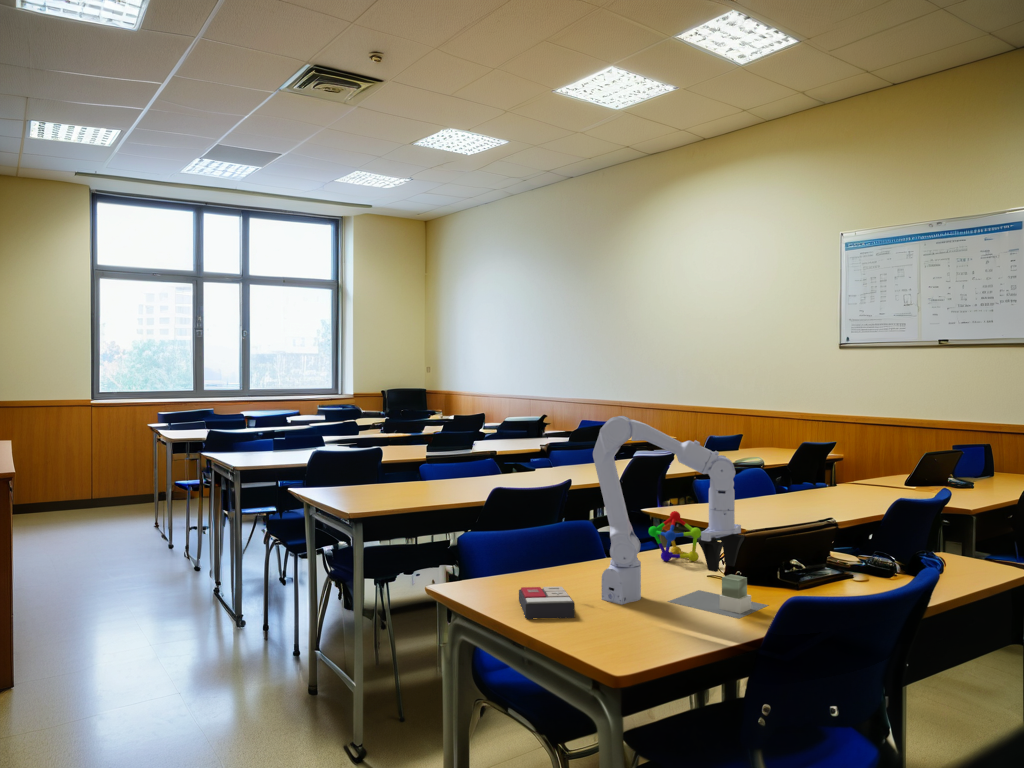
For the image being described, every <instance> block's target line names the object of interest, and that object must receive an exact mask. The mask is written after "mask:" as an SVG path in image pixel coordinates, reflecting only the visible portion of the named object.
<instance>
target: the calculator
mask: <svg viewBox="0 0 1024 768" xmlns="http://www.w3.org/2000/svg"><path fill="white" fill-rule="evenodd" d="M518 602H519V605H520V604H521V605H520V607H522V608H521V610H522V612H524V613H523V616H524V615H525V616H524V619H525V618H527V619H526V620H534V619H533V618H559V619H575V618H576V617H575V616H576V614H575V613H576V612H575V611H576V610H575V601H574V600H573V598H572V597H571V596H570V595H569V594H568V593H567V590H565V589H564V587H563V586H542V587H541V586H528V587H527V586H525V587H524V586H522V587H520V589H518Z"/></svg>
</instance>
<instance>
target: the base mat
mask: <svg viewBox="0 0 1024 768" xmlns="http://www.w3.org/2000/svg"><path fill="white" fill-rule="evenodd" d="M720 595H721V594H719V593H714V592H709V591H704V590H701V589H699V590H694V591H692V592H689V593H687V594H685V595H684V594H683V595H682V596H678V597H676V598H673V599H671V600H668V601H667V603H671V604H675V605H676V604H677V605H680V606H684V607H688V608H691V609H692V608H693V609H697V610H701V611H705V612H708V613H709V612H710V613H713V614H718V615H721V616H726V617H730V618H734V619H738V620H739V619H742V618H744V617H746V616H748V615H751V614H752V613H755V612H757V611H759V610H762V609H764V608H766V607H768V606H770V605H768V604H764V603H760V602H755V601H752V600H751V609H750V610H747V611H745V612H743V613H741V614H740V613H736V612H731V611H727V610H723V609H720Z"/></svg>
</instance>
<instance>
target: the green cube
mask: <svg viewBox="0 0 1024 768" xmlns="http://www.w3.org/2000/svg"><path fill="white" fill-rule="evenodd" d="M721 595H723V596H728V597H732V598H737V599H739V598H742V597H744V596H746V595H748V577H745V576H741V575H735V574H732V573H731V574H727V575H725V576H723V577H721Z"/></svg>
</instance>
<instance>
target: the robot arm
mask: <svg viewBox="0 0 1024 768" xmlns="http://www.w3.org/2000/svg"><path fill="white" fill-rule="evenodd" d="M630 439H631V441H633V442H634V441H637V442H639V441H646V442H648V443H649V444H652V445H654V446H657V447H659V448H660V449H663V450H665V451H668V452H670V453H672V454H674V455H675V456H676V457H677V461H678V463H679V464H682V465H685V466H686V467H688V468H690V469H692V470H694V471H696V472H698V473H700V474H703V475H708V476H709V478H710V479H709V488H708V526H707V528H706V529H705V530H703V531H701V536H700V537H699V538H697V542H698V545H699V546H700V549H701V550H702V553H703V556H704V558H705V563H706V567H707V570H708V571H709V572H714V573H717V572H719V568H720V561H721V560H720V559H721V553H722V549H723V561H724V564H725V566H729V567H735V565H736V561H737V558H738V554H739V550H740V548H741V546H742V543H743V542H744V540H745V535H744V534H742V525H741V524H738V523H735V518H736V517H735V514H736V513H735V503H736V502H735V494H736V493H735V492H736V491H735V489H734V487H735V481H734V478H735V476H736V469H735V465H734V463H733V461H732V460H731V459H730V458H728V457H727V456H726V455H723V454H721V455H720V452H719V451H717V450H715V451H712V450H711V449H708V448H706V447H704V446H702V445H701V442H700V441H697V440H696V439H695V440H694V441H692V440H686V441H683V442H682V441H679V440H677V439H675V438H674V437H671V436H670V435H668V434H666V433H664V432H663V431H661V430H659V429H657V428H655V427H654V426H653V427H652V426H651V425H649V424H647V423H644V422H642V421H639V420H635V419H631V418H629V416H628V417H627V416H624V415H618V416H613V417H610V418H609V419H608V420H607V421H606V422H605V423H604V424H603V425H602V427H600V429H599V433H598V436H597V440H596V442H595V445H594V448H593V451H592V458H593V463H594V466H595V467H594V468H595V471H596V475H597V479H598V483H599V486H600V487H599V488H600V490H601V491H600V492H601V495H602V498H603V504H604V507H605V511H606V515H607V521H608V525H609V539H610V543H611V544H610V547H609V548H610V549H609V555H610V560H609V562H610V563H609V566H608V568H606V569H605V570H604V571H603V572H602V574H601V600H602V601H606V602H610V603H613V604H617V605H622V606H623V605H625V604H628V603H633V602H637V601H641V599H642V588H641V587H642V577H641V576H642V570H641V569H642V566H641V564H642V562H641V561H640V560H639V558H638V554H639V552H640V550H641V542H640V540H639V538H638V537H637V535H636V534H635V532H634V529H633V526H632V523H631V522H630V518H629V515H628V510H627V505H626V502H625V498H624V495H623V489H622V485H621V482H620V477H619V473H618V468H617V464H616V461H615V455H616V454H617V453H618V452H619V450H620V449H621V446H622V445H624V444H625V443H627V442H628V441H629V440H630ZM717 539H719V540H720V541H718V540H717Z"/></svg>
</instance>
